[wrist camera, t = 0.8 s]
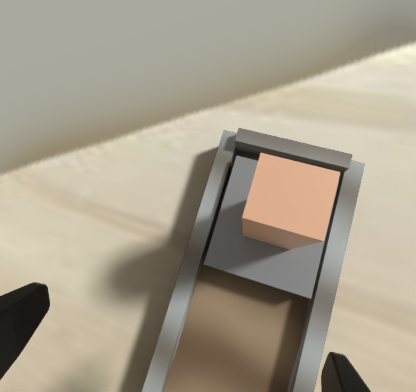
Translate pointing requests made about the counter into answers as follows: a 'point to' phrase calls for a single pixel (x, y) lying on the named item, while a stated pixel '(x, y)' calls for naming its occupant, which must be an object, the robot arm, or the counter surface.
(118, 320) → the counter surface
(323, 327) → the rail
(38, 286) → the robot arm
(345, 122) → the counter surface
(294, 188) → the carriage
